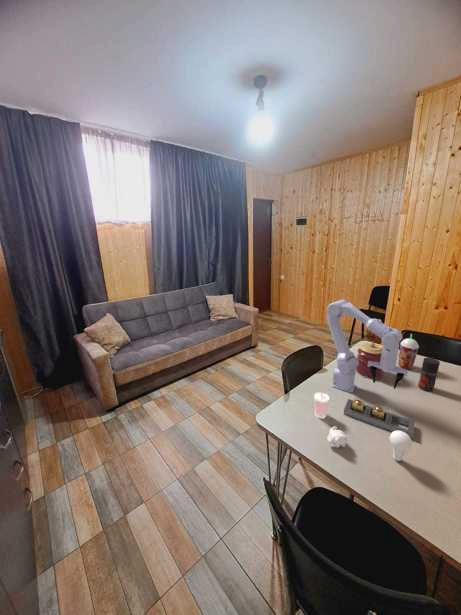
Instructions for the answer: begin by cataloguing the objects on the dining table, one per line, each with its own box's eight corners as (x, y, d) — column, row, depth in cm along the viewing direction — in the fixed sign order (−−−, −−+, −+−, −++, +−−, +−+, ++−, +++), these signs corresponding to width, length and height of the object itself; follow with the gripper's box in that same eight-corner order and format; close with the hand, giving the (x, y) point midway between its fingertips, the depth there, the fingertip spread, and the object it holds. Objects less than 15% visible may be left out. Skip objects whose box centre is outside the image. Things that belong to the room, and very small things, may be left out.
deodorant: (436, 392, 117) (442, 364, 112) (421, 391, 118) (427, 363, 114) (429, 385, 122) (435, 358, 118) (415, 384, 123) (421, 357, 119)
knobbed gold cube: (370, 420, 101) (372, 409, 100) (372, 414, 104) (374, 403, 103) (382, 424, 99) (384, 412, 97) (383, 418, 102) (385, 407, 100)
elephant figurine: (322, 438, 93) (323, 425, 92) (343, 436, 94) (344, 423, 92) (331, 453, 87) (332, 439, 85) (352, 451, 87) (354, 437, 86)
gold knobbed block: (351, 413, 105) (352, 402, 104) (353, 408, 108) (354, 397, 107) (361, 417, 103) (362, 406, 101) (363, 412, 106) (364, 401, 104)
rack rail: (343, 413, 105) (344, 409, 104) (348, 403, 111) (348, 398, 110) (412, 439, 91) (413, 434, 90) (413, 426, 97) (414, 421, 97)
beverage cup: (316, 407, 109) (319, 380, 105) (330, 414, 105) (333, 386, 101) (310, 414, 105) (312, 386, 101) (323, 422, 101) (326, 392, 97)
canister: (357, 363, 144) (361, 335, 139) (383, 370, 137) (387, 340, 132) (353, 373, 134) (356, 344, 129) (380, 381, 127) (385, 350, 122)
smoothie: (418, 370, 135) (425, 337, 129) (402, 370, 135) (409, 337, 129) (407, 362, 143) (413, 331, 137) (393, 363, 143) (398, 331, 137)
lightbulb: (382, 452, 86) (386, 427, 83) (398, 450, 87) (403, 425, 84) (394, 468, 80) (400, 441, 77) (412, 466, 81) (418, 439, 78)
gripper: (368, 356, 106) (364, 383, 110) (409, 365, 97) (403, 395, 101) (370, 350, 111) (367, 376, 115) (410, 358, 103) (404, 386, 106)
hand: (384, 384), depth 108 cm, fingers open, 7 cm apart
